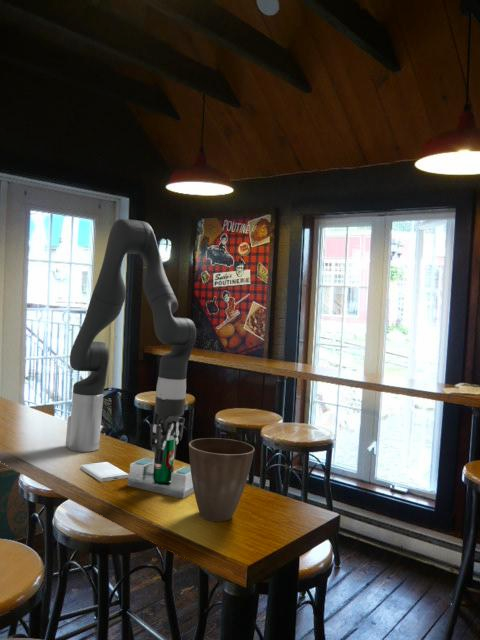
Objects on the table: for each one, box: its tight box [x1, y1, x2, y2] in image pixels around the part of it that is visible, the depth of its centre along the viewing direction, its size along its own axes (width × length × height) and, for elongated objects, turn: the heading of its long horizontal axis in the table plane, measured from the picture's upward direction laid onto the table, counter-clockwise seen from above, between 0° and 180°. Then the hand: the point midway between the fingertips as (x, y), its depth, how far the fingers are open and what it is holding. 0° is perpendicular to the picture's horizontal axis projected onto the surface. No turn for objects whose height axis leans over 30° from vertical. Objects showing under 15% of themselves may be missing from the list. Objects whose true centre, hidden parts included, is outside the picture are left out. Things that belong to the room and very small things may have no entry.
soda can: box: [153, 434, 175, 484], centre depth 140 cm, size 5×5×12 cm
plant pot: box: [188, 437, 255, 522], centre depth 124 cm, size 15×15×16 cm
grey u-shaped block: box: [127, 457, 194, 500], centre depth 140 cm, size 16×8×6 cm, turn 68°
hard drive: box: [80, 461, 129, 483], centre depth 148 cm, size 2×8×12 cm
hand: (164, 460), depth 140 cm, fingers open, 5 cm apart
